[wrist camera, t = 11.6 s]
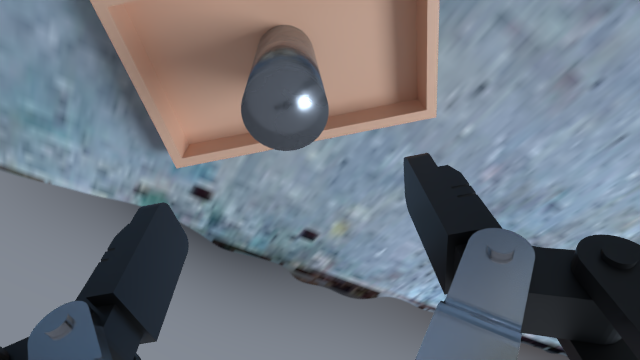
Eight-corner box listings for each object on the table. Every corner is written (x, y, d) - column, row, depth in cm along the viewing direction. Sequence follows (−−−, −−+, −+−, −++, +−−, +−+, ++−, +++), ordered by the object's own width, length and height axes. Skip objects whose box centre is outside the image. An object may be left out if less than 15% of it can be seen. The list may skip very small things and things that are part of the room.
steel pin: (307, 19, 24) (320, 59, 15) (318, 77, 27) (334, 141, 18) (249, 31, 25) (228, 79, 16) (265, 88, 27) (255, 157, 18)
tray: (424, -79, 22) (441, -83, 20) (423, 103, 30) (436, 117, 27) (109, -10, 23) (87, -5, 20) (185, 150, 30) (176, 168, 28)
